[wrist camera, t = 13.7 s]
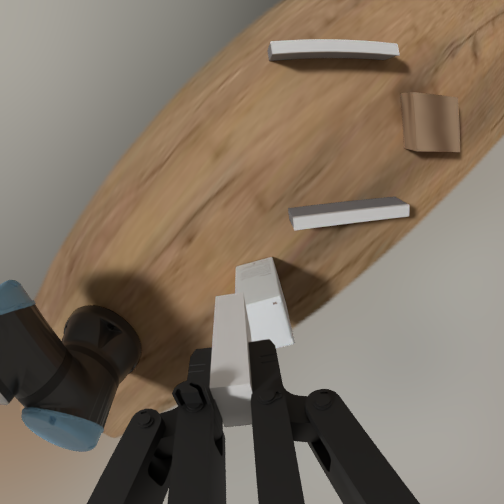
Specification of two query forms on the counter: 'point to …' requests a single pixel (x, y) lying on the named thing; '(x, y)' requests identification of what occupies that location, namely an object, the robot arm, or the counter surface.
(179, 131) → the counter surface
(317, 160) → the counter surface
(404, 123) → the walnut block
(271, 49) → the corridor walls
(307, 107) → the counter surface
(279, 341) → the small box
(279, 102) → the counter surface
